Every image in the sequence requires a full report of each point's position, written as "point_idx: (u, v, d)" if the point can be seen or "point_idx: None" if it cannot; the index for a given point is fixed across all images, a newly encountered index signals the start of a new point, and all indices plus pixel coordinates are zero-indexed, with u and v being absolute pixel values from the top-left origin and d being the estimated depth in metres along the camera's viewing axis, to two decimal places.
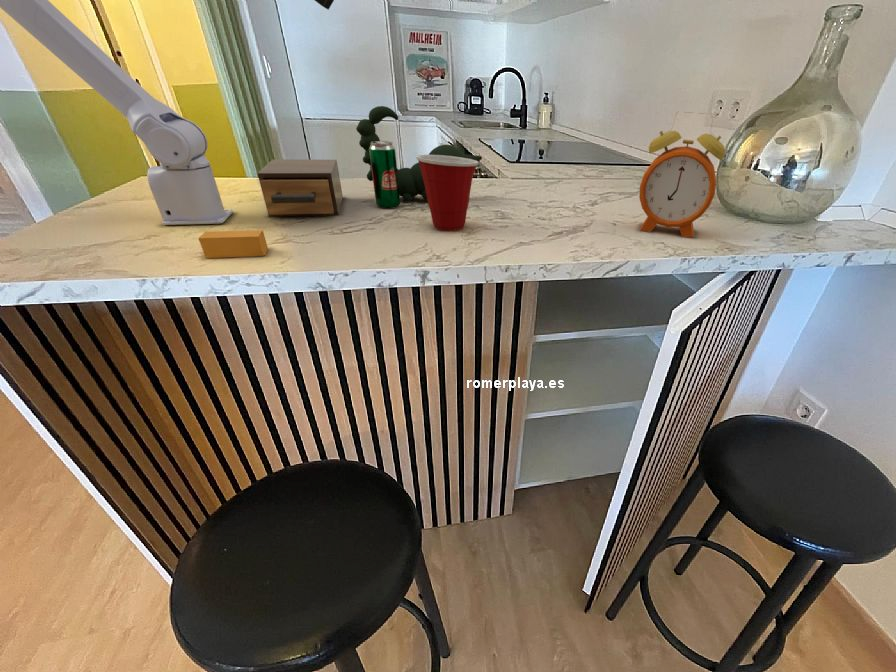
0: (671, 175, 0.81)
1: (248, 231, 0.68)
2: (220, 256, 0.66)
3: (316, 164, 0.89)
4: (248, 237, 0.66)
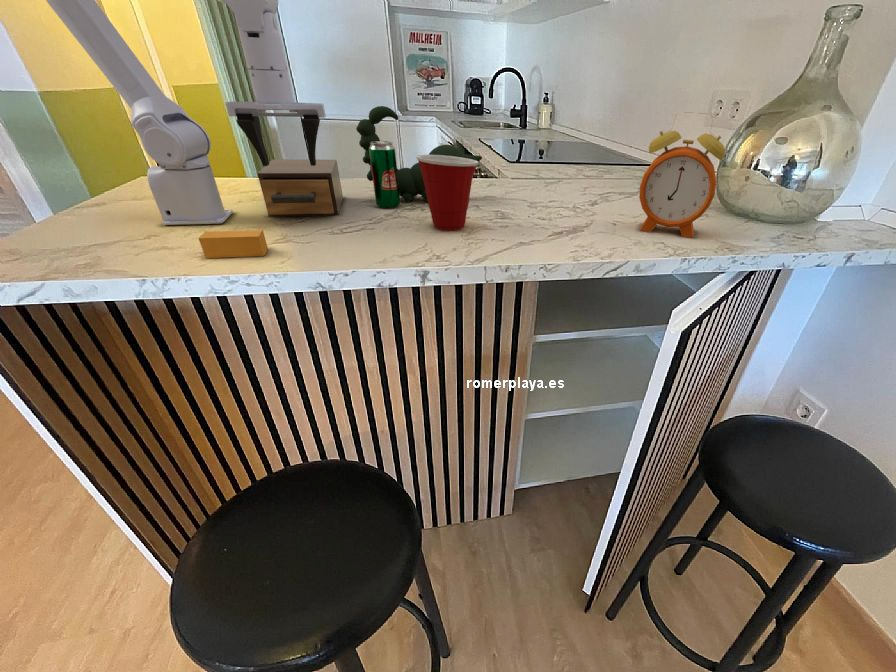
0: (671, 175, 0.81)
1: (248, 231, 0.68)
2: (220, 256, 0.66)
3: (316, 164, 0.89)
4: (248, 237, 0.66)
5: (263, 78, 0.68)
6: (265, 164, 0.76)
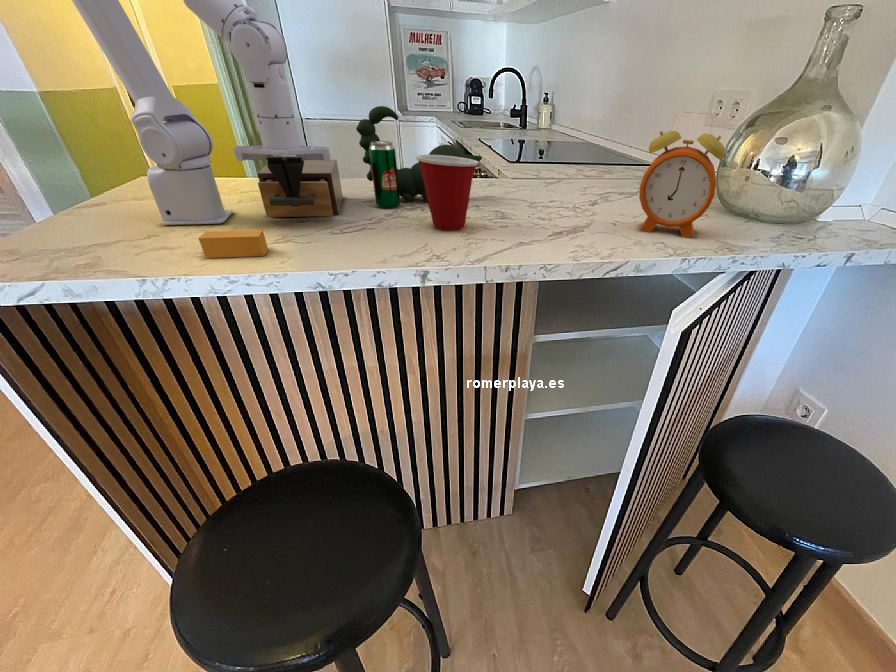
0: (671, 175, 0.81)
1: (248, 231, 0.68)
2: (220, 256, 0.66)
3: (316, 164, 0.89)
4: (248, 237, 0.66)
5: (270, 126, 0.70)
6: None
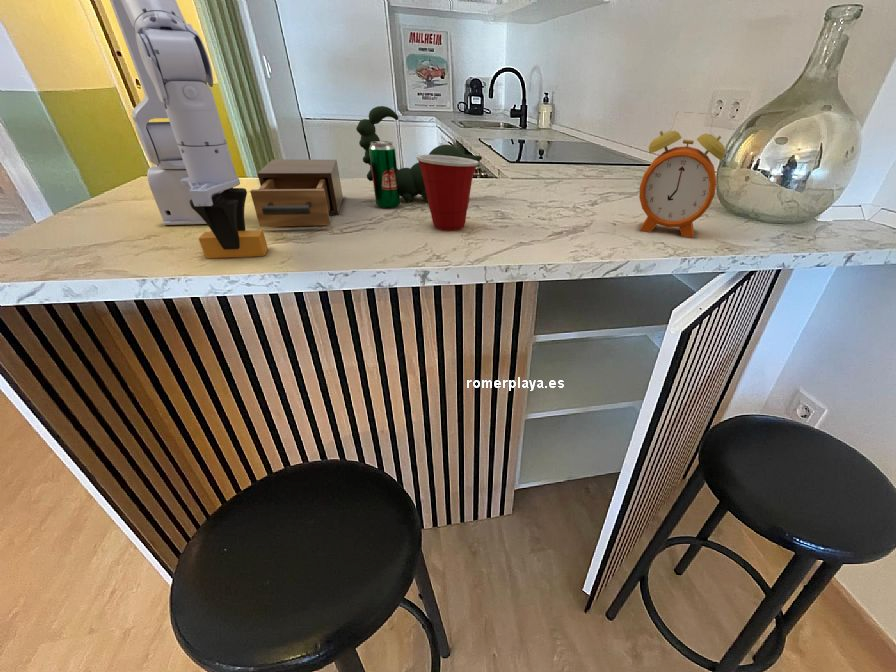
0: (671, 175, 0.81)
1: (248, 231, 0.68)
2: (220, 256, 0.66)
3: (316, 164, 0.89)
4: (248, 237, 0.66)
5: None
6: None
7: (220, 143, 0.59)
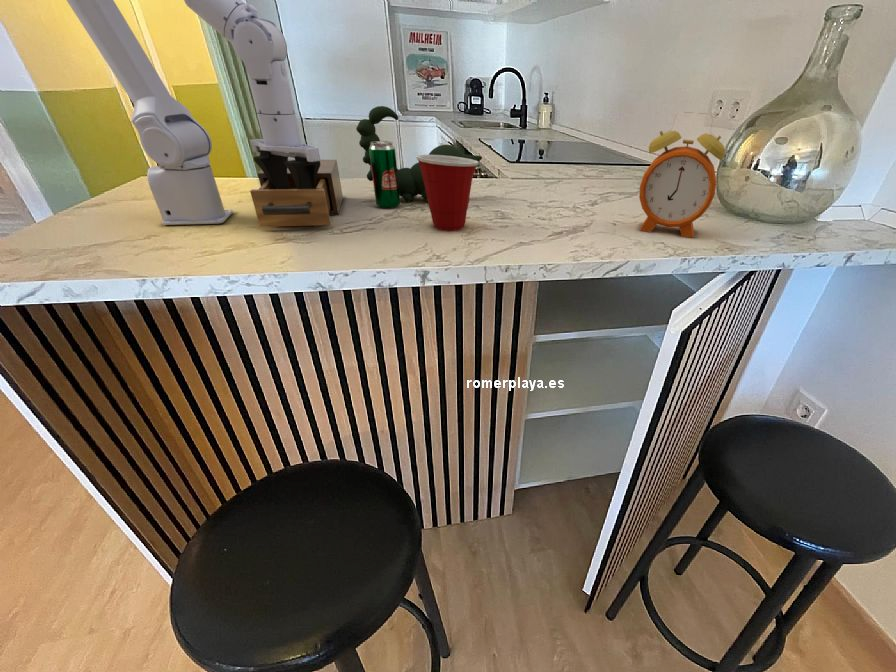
0: (671, 175, 0.81)
1: None
2: None
3: None
4: None
5: (260, 121, 0.71)
6: None
7: None
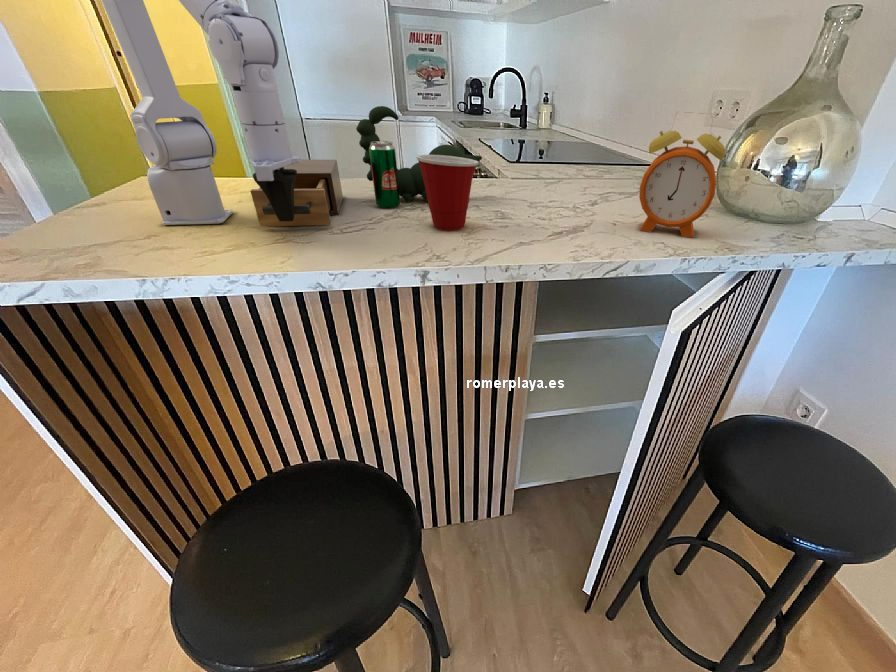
0: (671, 175, 0.81)
1: None
2: None
3: (316, 164, 0.89)
4: None
5: (285, 132, 0.65)
6: (293, 218, 0.72)
7: None
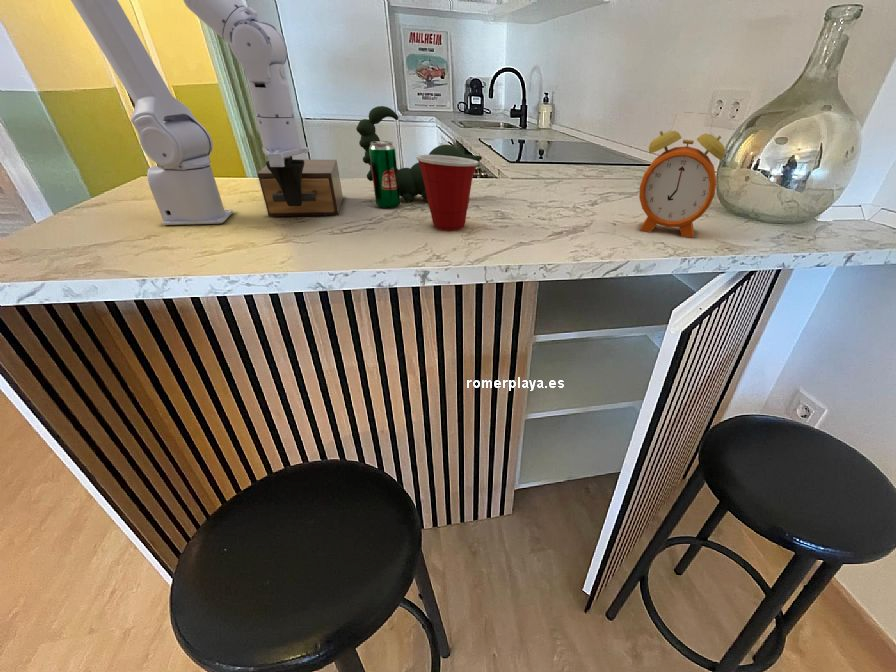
0: (671, 175, 0.81)
1: None
2: None
3: (316, 164, 0.89)
4: None
5: (295, 124, 0.73)
6: (301, 203, 0.80)
7: None
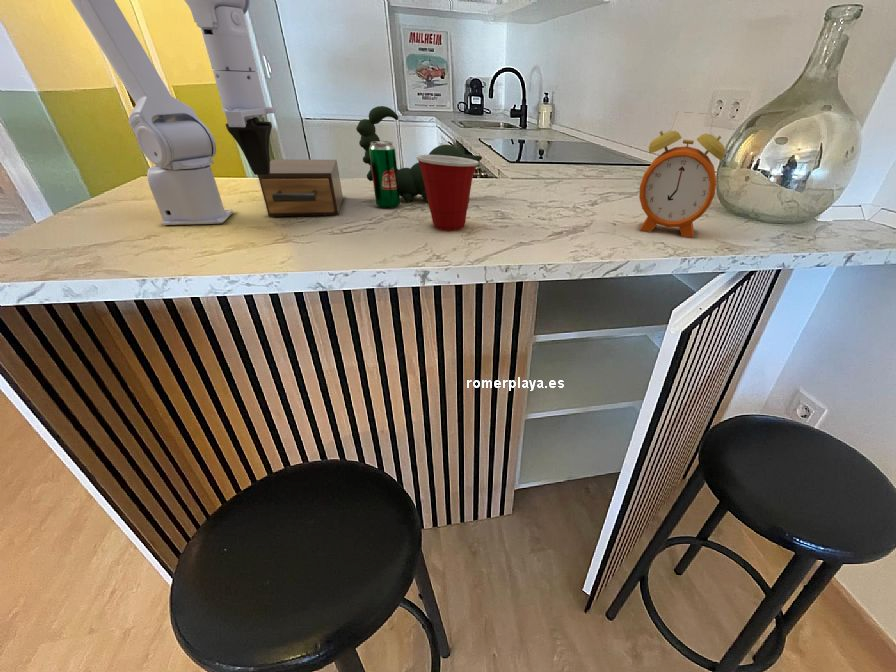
0: (671, 175, 0.81)
1: None
2: None
3: (316, 164, 0.89)
4: None
5: (258, 80, 0.65)
6: (268, 172, 0.72)
7: None
